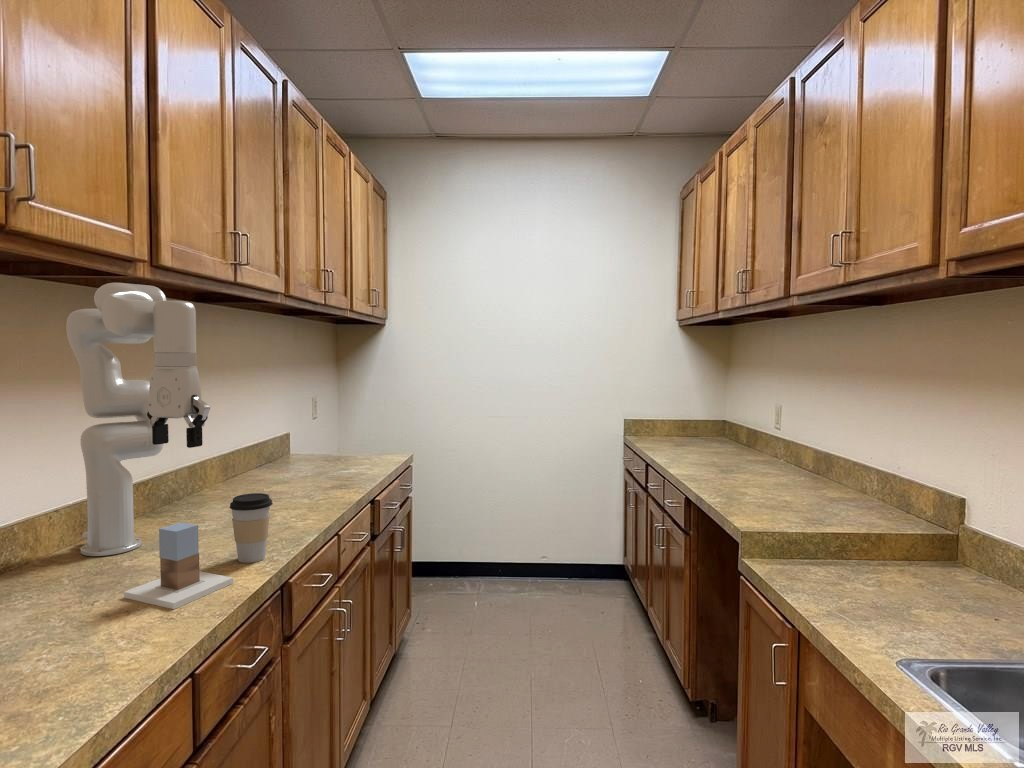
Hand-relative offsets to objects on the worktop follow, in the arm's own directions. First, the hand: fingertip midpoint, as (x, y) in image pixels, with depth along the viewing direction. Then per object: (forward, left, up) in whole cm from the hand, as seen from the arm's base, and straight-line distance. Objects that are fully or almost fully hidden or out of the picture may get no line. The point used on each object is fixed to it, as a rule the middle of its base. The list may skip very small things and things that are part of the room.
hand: (177, 445), depth 120 cm
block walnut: (0, 0, -29) cm, 29 cm away
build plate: (0, 0, -30) cm, 30 cm away
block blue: (0, 0, -23) cm, 23 cm away
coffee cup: (-1, +20, -31) cm, 36 cm away
